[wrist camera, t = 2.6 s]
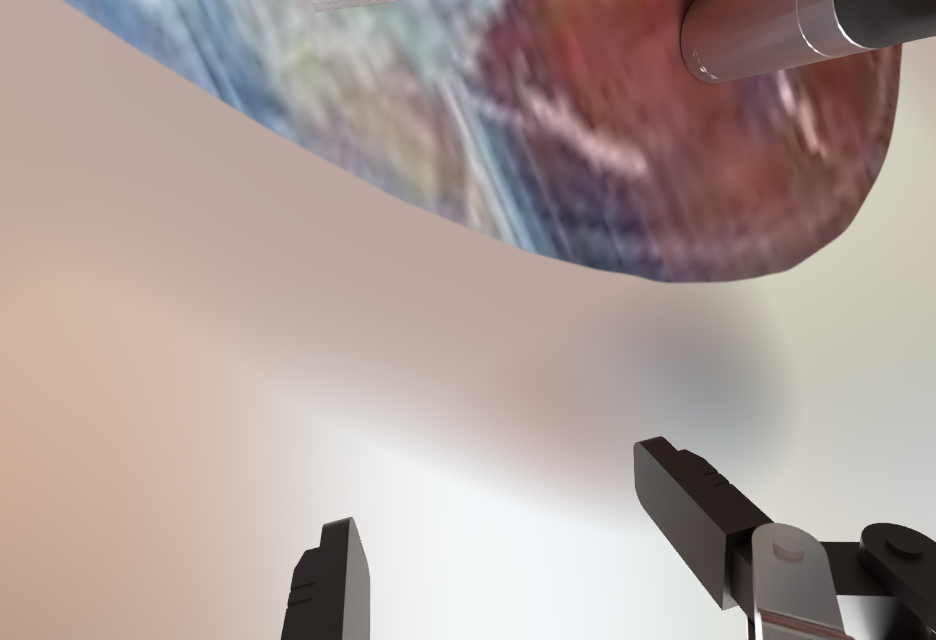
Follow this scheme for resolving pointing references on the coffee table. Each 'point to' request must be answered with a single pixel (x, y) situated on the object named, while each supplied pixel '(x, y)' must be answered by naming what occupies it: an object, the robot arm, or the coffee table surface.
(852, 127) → the coffee table surface
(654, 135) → the coffee table surface
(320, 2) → the block
